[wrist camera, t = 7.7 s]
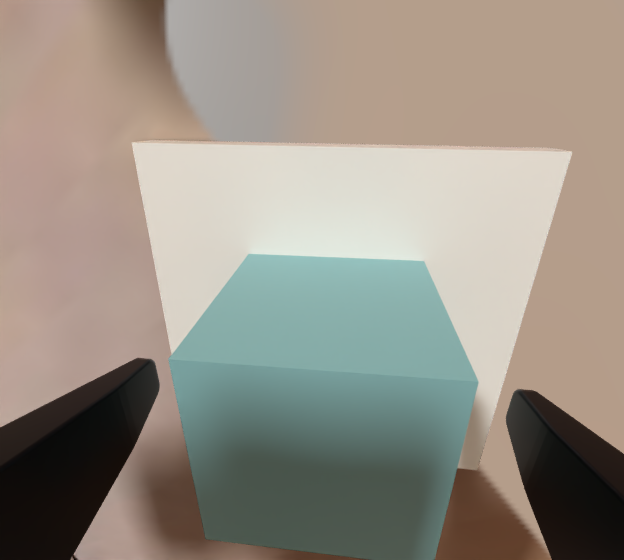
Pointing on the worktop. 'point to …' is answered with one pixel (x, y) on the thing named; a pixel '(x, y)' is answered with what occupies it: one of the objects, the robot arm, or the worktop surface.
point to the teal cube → (325, 407)
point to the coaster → (359, 228)
